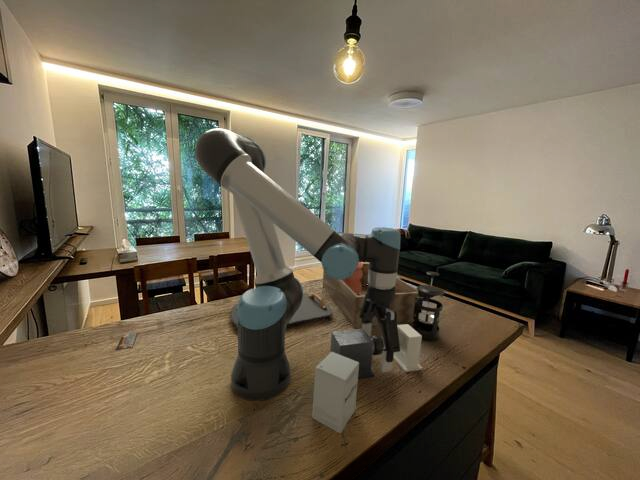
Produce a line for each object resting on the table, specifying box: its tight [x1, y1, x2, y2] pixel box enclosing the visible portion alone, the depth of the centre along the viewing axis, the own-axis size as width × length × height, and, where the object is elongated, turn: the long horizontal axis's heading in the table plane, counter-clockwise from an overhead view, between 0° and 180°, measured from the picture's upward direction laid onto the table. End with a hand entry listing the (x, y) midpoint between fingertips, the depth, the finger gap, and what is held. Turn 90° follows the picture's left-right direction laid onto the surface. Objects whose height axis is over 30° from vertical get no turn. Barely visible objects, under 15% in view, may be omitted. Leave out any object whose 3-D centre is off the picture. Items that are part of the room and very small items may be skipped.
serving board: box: [229, 293, 333, 328], centre depth 107 cm, size 39×23×6 cm, turn 118°
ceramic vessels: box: [343, 262, 363, 295], centre depth 119 cm, size 35×21×19 cm, turn 28°
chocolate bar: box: [115, 331, 140, 351], centre depth 85 cm, size 11×5×1 cm, turn 24°
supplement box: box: [311, 351, 359, 434], centre depth 60 cm, size 7×7×13 cm
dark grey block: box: [330, 328, 376, 380], centre depth 76 cm, size 11×9×10 cm
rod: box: [370, 334, 385, 356], centre depth 77 cm, size 16×5×5 cm, turn 105°
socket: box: [393, 323, 424, 373], centre depth 81 cm, size 6×9×10 cm, turn 16°
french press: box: [411, 271, 445, 342], centre depth 96 cm, size 12×9×23 cm
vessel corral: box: [322, 262, 422, 329], centre depth 122 cm, size 27×41×12 cm, turn 15°
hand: (375, 356), depth 78 cm, fingers open, 12 cm apart
